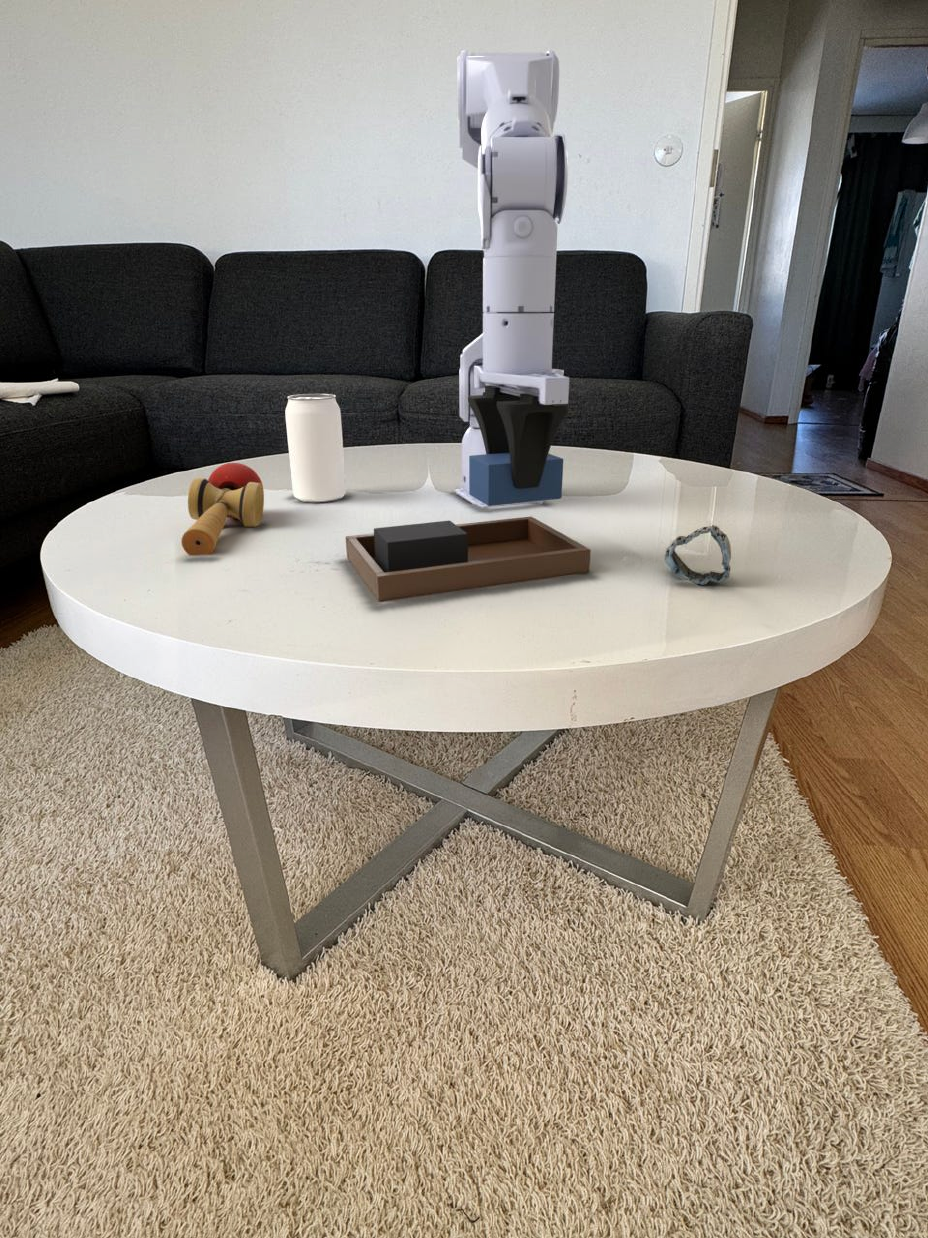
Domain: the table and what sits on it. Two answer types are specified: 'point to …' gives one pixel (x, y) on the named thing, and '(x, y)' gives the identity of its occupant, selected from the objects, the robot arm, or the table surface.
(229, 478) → the kendama
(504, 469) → the blue rectangular block
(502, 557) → the tray
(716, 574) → the rough grey ring
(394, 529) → the black rectangular block
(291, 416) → the can
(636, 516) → the table surface
